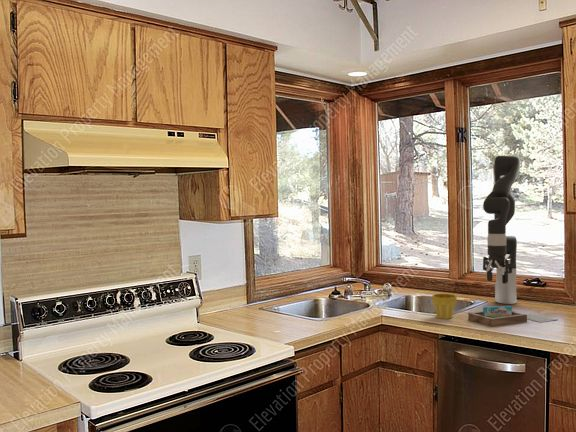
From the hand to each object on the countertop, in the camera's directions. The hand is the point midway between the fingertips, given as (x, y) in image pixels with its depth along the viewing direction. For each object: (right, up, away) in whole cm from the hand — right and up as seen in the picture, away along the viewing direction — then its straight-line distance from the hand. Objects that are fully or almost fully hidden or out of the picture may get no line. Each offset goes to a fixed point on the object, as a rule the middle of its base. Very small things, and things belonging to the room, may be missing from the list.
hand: (497, 282), depth 236 cm
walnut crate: (0, -17, +1) cm, 17 cm away
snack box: (0, -17, +1) cm, 17 cm away
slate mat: (+18, -16, +4) cm, 25 cm away
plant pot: (-20, -17, +9) cm, 28 cm away
